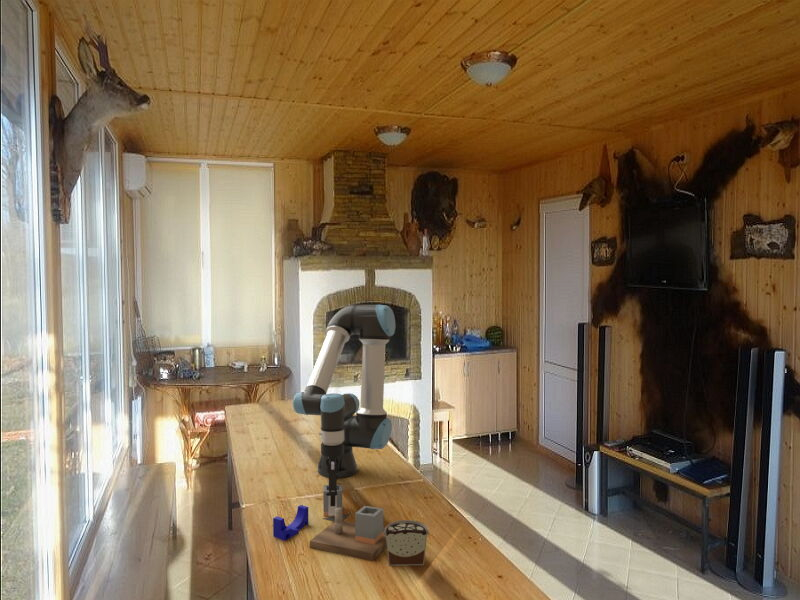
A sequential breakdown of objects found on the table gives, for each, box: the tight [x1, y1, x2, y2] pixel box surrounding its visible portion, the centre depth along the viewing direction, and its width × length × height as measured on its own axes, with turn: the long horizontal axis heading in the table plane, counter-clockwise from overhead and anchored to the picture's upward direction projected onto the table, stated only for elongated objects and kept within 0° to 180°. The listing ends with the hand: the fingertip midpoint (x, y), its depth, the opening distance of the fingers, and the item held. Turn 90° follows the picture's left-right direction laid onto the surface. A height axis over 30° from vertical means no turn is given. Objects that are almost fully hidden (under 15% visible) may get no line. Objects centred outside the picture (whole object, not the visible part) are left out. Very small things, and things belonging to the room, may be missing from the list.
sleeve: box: [322, 483, 343, 517], centre depth 194 cm, size 6×6×8 cm
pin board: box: [309, 507, 387, 562], centre depth 173 cm, size 16×20×9 cm
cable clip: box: [272, 504, 309, 542], centre depth 181 cm, size 12×4×6 cm, turn 146°
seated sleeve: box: [354, 505, 384, 545], centre depth 171 cm, size 6×6×8 cm
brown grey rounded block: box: [383, 519, 430, 567], centre depth 163 cm, size 12×6×10 cm, turn 92°
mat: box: [322, 513, 351, 522], centre depth 195 cm, size 12×12×1 cm
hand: (332, 507), depth 194 cm, fingers open, 13 cm apart
